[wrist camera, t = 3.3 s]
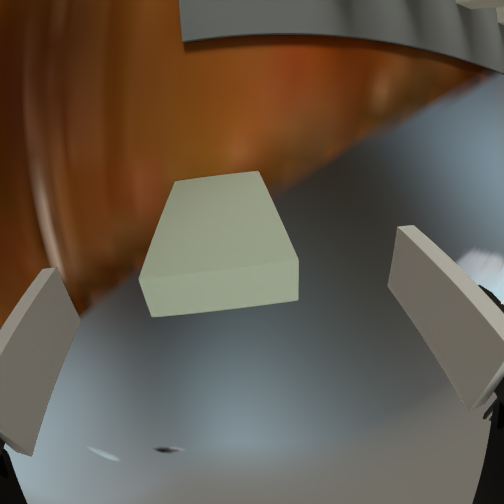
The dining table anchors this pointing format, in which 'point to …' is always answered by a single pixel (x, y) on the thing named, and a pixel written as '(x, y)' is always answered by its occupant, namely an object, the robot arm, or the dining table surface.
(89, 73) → the dining table surface
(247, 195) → the domino
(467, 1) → the domino
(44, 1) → the dining table surface
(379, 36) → the slate mat
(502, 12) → the domino
